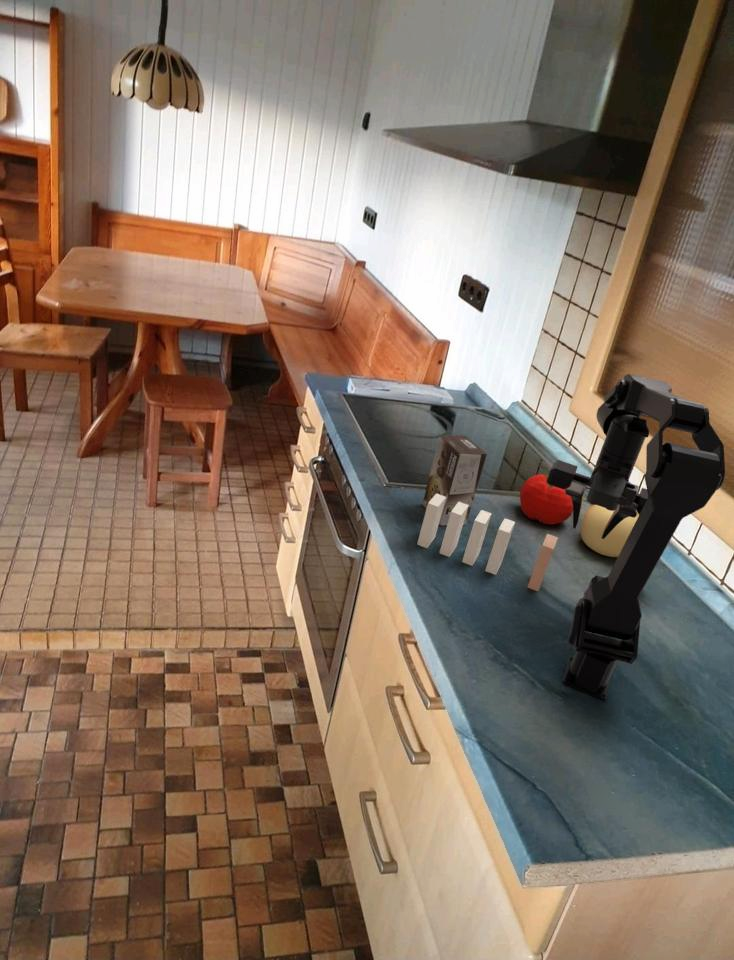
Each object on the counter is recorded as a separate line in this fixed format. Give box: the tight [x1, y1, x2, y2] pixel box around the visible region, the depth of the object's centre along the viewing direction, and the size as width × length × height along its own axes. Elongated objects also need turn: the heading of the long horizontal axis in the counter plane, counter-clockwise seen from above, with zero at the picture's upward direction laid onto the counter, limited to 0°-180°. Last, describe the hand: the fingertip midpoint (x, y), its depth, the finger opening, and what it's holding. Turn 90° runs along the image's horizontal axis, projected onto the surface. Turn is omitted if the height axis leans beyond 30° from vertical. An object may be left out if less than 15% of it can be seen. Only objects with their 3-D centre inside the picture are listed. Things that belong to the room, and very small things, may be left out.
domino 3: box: [461, 509, 492, 567], centre depth 129 cm, size 5×2×9 cm, turn 157°
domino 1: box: [416, 493, 446, 549], centre depth 131 cm, size 5×2×9 cm, turn 157°
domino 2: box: [439, 502, 469, 558], centre depth 130 cm, size 5×2×9 cm, turn 157°
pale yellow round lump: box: [580, 503, 639, 558], centre depth 143 cm, size 12×12×11 cm
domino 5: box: [527, 533, 559, 592], centre depth 125 cm, size 5×2×9 cm, turn 157°
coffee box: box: [422, 434, 488, 526], centre depth 141 cm, size 9×6×16 cm
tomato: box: [519, 473, 573, 526], centre depth 150 cm, size 11×12×9 cm
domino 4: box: [485, 518, 516, 576], centre depth 128 cm, size 5×2×9 cm, turn 157°
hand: (588, 532), depth 120 cm, fingers open, 5 cm apart
